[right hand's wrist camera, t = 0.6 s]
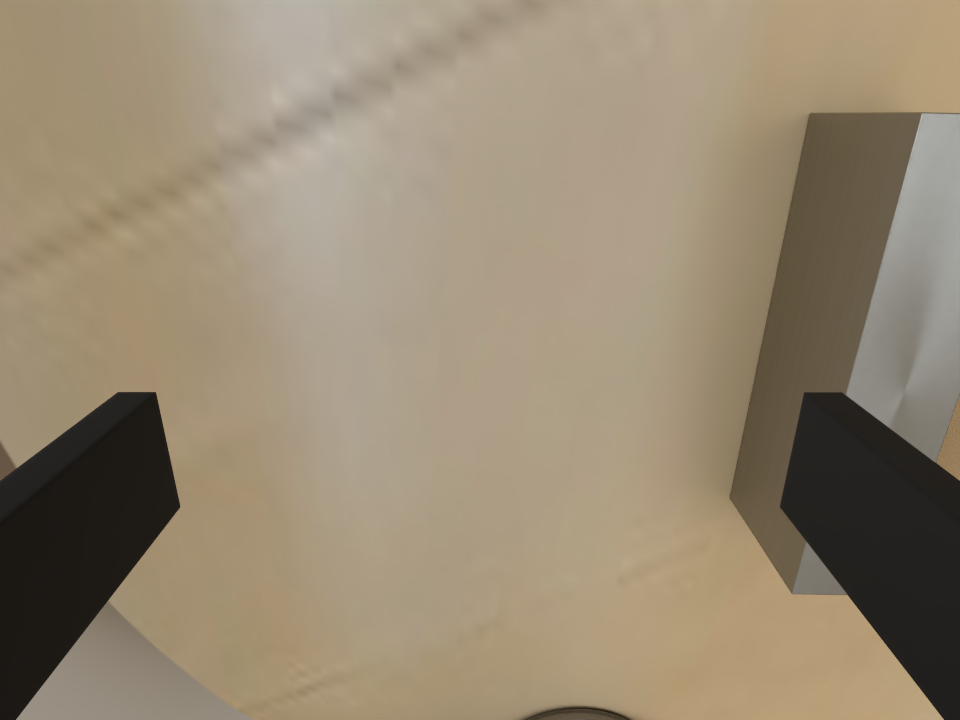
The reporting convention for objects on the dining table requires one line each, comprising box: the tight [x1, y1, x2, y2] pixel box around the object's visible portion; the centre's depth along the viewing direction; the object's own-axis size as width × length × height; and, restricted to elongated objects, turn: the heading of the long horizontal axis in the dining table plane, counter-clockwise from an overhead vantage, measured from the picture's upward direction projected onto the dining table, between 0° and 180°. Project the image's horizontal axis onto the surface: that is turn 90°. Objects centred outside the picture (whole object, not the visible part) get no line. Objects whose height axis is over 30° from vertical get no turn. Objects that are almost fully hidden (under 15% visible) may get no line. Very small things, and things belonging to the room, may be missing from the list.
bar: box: [730, 112, 960, 595], centre depth 34 cm, size 25×6×9 cm, turn 179°
